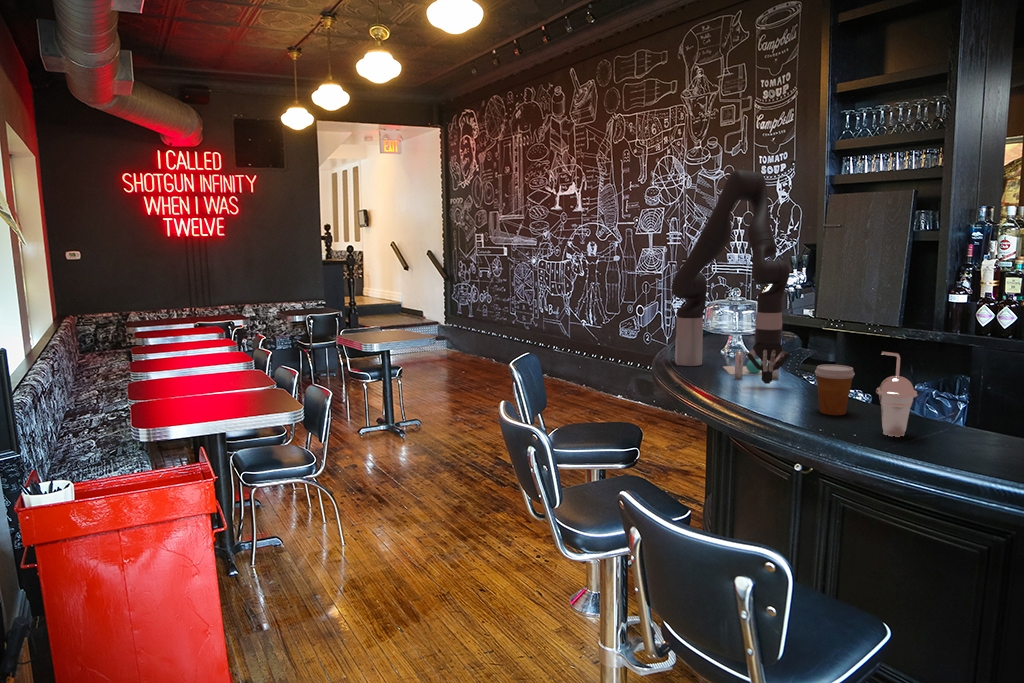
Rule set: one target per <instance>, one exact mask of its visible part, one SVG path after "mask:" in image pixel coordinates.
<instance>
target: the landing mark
mask: <svg viewBox="0 0 1024 683" xmlns="http://www.w3.org/2000/svg"><path fill="white" fill-rule="evenodd" d="M722 368H723V369H724V370H725V371H726V372H727V374H729V375H730V376H731V375H732V376H735V365H734V366H733V365H726V366H725V365H724V366H722ZM746 375H747V376H748V375H749V376H762V371H760V372H759V373H755V374H754V373H750V372H749V371H748V370H747V367H746V365H743V374H742V376H746Z"/></svg>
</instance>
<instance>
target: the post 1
mask: <svg viewBox="0 0 1024 683" xmlns="http://www.w3.org/2000/svg"><path fill="white" fill-rule="evenodd" d="M734 353H735V357H734V358H735V359H734V366H735V375H734V380H736V381H740V380H741V381H742V380H743V375H742V374H743V366H744V351H740V350H735V352H734Z"/></svg>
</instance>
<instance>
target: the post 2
mask: <svg viewBox="0 0 1024 683" xmlns="http://www.w3.org/2000/svg"><path fill="white" fill-rule="evenodd" d="M780 354H781V353H780ZM780 354H779V356H778V357H777V358H776V359H775V361H774V364H775V363H776V362H777V361H778V359H779V358H780ZM779 380H780V368H779V369H778V370H774V371H773V372H772V381H779Z"/></svg>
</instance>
